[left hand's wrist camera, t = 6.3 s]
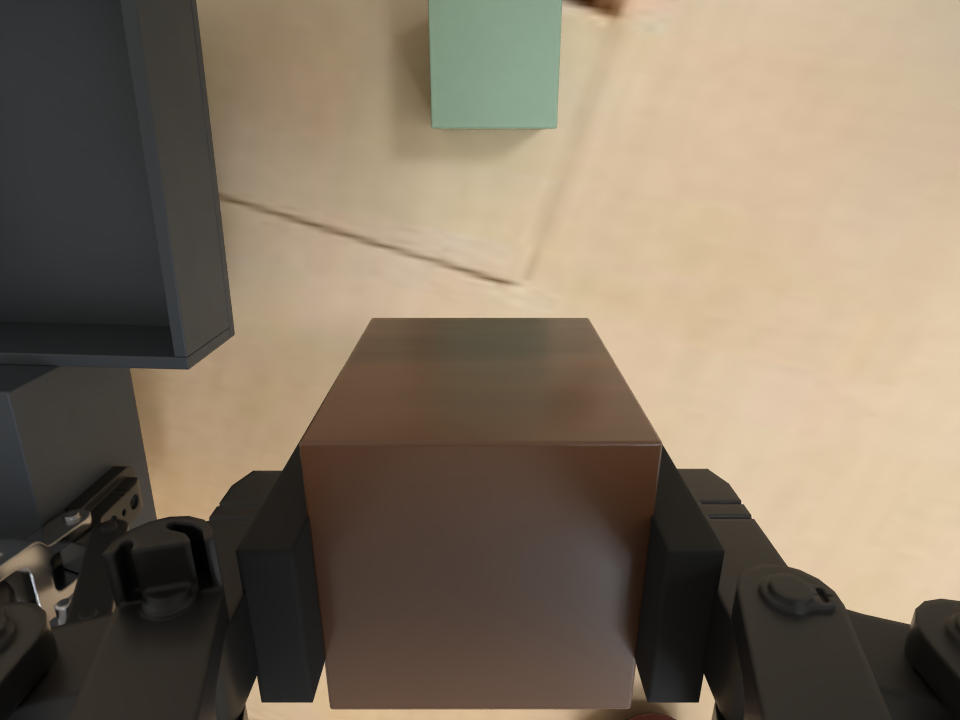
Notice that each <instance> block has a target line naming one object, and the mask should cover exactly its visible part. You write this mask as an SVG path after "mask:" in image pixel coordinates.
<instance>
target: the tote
mask: <svg viewBox="0 0 960 720" xmlns="http://www.w3.org/2000/svg"><path fill="white" fill-rule="evenodd" d="M234 334H235V333H234V324H233V316H232V307H231V298H230V290H229V281H228V273H227V264H226V255H225V247H224V238H223V229H222V221H221V212H220V204H219V195H218V186H217V178H216V169H215V160H214V152H213V143H212V134H211V126H210V117H209V109H208V100H207V91H206V83H205V74H204V65H203V57H202V48H201V40H200V31H199V22H198V14H197V5H196V0H0V540H2V539H4V538H7V537H12V538H18V539H25V538H26V537H27V536H29V535H30V534H32V533H33V532H35V531H36V530H38V529H39V528H41V527H42V526H44V525H45V524H47V523H48V522H50V521H51V520H52V519H54V518H55V517H57V516H58V515H60V514H62V513H64V512H65V509H64V508H66V507H67V506H68V505H69V504H70V503H71V502H73V501H74V500H75V499H76V498H77V497H78V496H80V495H81V494H82V493H83V492H84V491H85V490H86V489H88V488H89V487H90V486H91V485H92V484H93V483H95V482H96V481H97V480H98V479H99V478H100V477H102V476H103V475H104V474H105V473H106V472H107V471H109V470H110V469H111V468H112V467H113V466H131V467H133V469H134V472H135V477H138V479H139V485H140V490H141V496H142V501H143V508H142V511H141V512H140V513H139V515H138V516H137V517H136V518H134V520H133V521H132V522H131V523H130V524H128V526H129V530H131V529H133V528H135V527H138V526H140V525H142V524H145V523H147V522H150V521H154V520H157V518H156V512H155V507H154V501H153V496H152V490H151V485H150V479H149V474H148V468H147V462H146V457H145V451H144V446H143V440H142V435H141V429H140V424H139V418H138V413H137V407H136V401H135V396H134V390H133V385H132V379H131V374H130V368H153V369H190V368H191V367H193V366H194V365H195V364H197V363H198V362H199V361H201V360H202V359H203V358H204V357H206V356H207V355H208V354H210V353H211V352H212V351H214V350H215V349H216V348H218V347H219V346H220V345H222V344H223V343H224V342H226V341H227V340H228V339H230V338H231V337H232V336H234ZM61 564H62V563H61V559H60V555H59V552H58V553H57V554H55V555H54V556H53V558H52V559H51V562H50V569H51V572H52V571H53V570H54V569H56V568H57V567H58V566H59V565H61ZM72 596H73V594H72V595H71V596H69V597H68V598H71V599H72Z"/></svg>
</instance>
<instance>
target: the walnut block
mask: <svg viewBox="0 0 960 720" xmlns="http://www.w3.org/2000/svg"><path fill="white" fill-rule="evenodd" d="M299 448H300V456H301V465H302V473H303V482H304V490H305V499H306V507H307V515H308V516H309V524H310V533H311V541H312V550H313V558H314V567H315V575H316V584H317V592H318V601H319V609H320V618H321V626H322V635H323V643H324V652H325V668H326V677H327V685H328V694H329V702H330V708H331V709H629V708H630V707H631V701H632V693H633V684H634V676H635V668H636V661H635V655H636V646H637V638H638V629H639V621H640V612H641V604H642V596H643V587H644V579H645V570H646V562H647V553H648V545H649V536H650V528H651V520H652V516H653V515H654V510H655V501H656V493H657V485H658V476H659V468H660V460H661V451H662V442H661V440H660V438H659V437H658V435H657V433H656V432H655V430H654V428H653V427H652V425H651V423H650V421H649V420H648V418H647V416H646V415H645V413H644V411H643V410H642V408H641V406H640V405H639V403H638V401H637V400H636V398H635V396H634V394H633V393H632V391H631V389H630V388H629V386H628V384H627V383H626V381H625V379H624V378H623V376H622V374H621V373H620V371H619V369H618V367H617V366H616V364H615V362H614V361H613V359H612V357H611V356H610V354H609V352H608V351H607V349H606V347H605V346H604V344H603V342H602V340H601V339H600V337H599V335H598V334H597V332H596V330H595V329H594V327H593V325H592V324H591V322H590V320H589V319H588V318H372V319H371V321H370V323H369V324H368V326H367V328H366V329H365V331H364V333H363V335H362V336H361V338H360V340H359V341H358V343H357V345H356V347H355V348H354V350H353V352H352V353H351V355H350V357H349V359H348V360H347V362H346V364H345V365H344V367H343V369H342V371H341V372H340V374H339V376H338V377H337V379H336V381H335V383H334V384H333V386H332V388H331V389H330V391H329V393H328V395H327V396H326V398H325V400H324V401H323V403H322V405H321V407H320V408H319V410H318V412H317V413H316V415H315V417H314V418H313V420H312V422H311V424H310V425H309V427H308V429H307V430H306V432H305V434H304V436H303V437H302V439H301V441H300V443H299Z"/></svg>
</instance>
